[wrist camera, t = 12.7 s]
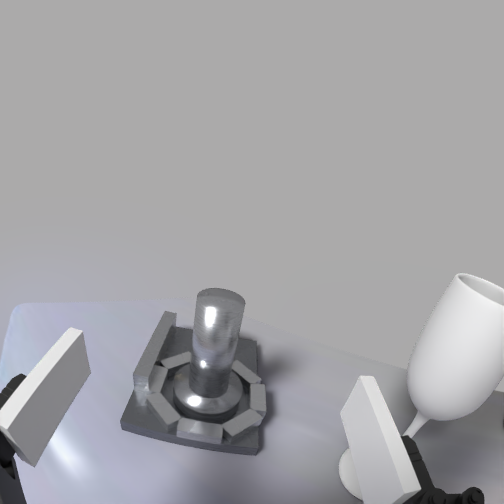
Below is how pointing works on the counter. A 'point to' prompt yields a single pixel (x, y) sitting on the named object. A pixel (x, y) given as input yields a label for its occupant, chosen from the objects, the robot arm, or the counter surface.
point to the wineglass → (452, 359)
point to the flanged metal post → (212, 359)
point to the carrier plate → (168, 414)
